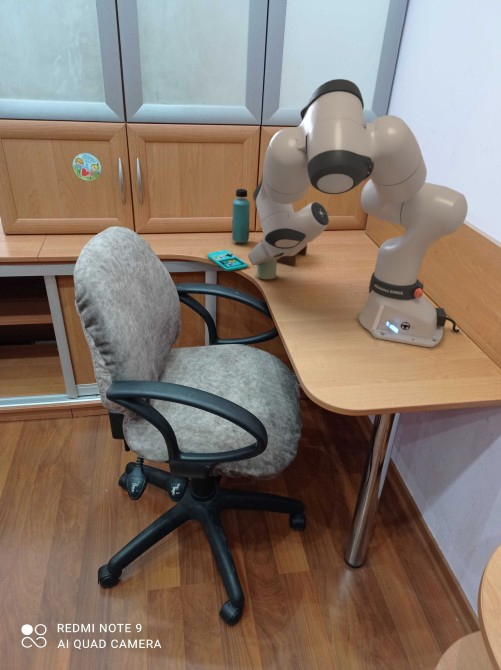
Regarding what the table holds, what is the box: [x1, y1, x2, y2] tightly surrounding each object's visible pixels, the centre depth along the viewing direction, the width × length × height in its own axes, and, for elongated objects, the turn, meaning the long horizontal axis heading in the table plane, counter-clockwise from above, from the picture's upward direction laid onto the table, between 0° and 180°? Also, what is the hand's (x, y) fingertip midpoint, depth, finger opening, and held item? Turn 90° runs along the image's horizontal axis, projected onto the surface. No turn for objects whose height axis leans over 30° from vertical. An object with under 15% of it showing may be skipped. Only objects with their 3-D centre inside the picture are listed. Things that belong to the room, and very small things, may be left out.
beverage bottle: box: [231, 188, 251, 243], centre depth 174 cm, size 6×7×20 cm
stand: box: [260, 239, 308, 267], centre depth 168 cm, size 13×12×7 cm
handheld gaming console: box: [207, 249, 248, 272], centre depth 164 cm, size 8×1×15 cm
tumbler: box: [256, 259, 278, 280], centre depth 152 cm, size 6×6×9 cm
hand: (265, 260), depth 152 cm, fingers closed on tumbler, 6 cm apart
